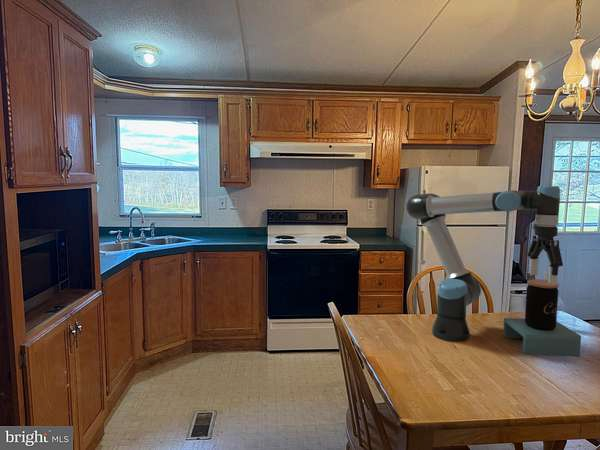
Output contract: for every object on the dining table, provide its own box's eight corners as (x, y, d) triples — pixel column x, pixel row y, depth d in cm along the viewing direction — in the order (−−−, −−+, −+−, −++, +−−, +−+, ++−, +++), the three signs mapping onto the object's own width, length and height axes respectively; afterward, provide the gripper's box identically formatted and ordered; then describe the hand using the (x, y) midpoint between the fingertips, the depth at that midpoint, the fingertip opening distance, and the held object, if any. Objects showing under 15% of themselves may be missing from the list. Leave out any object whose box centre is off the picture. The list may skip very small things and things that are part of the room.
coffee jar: (545, 333, 145) (548, 287, 143) (518, 324, 155) (521, 281, 153) (561, 328, 150) (564, 283, 148) (534, 320, 160) (537, 278, 158)
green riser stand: (524, 354, 145) (525, 334, 144) (503, 336, 163) (504, 318, 162) (579, 356, 143) (581, 335, 143) (551, 337, 161) (553, 319, 160)
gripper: (520, 222, 161) (517, 271, 163) (555, 229, 136) (550, 287, 138) (538, 222, 160) (535, 271, 163) (577, 229, 136) (572, 287, 138)
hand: (542, 278), depth 150 cm, fingers open, 13 cm apart
